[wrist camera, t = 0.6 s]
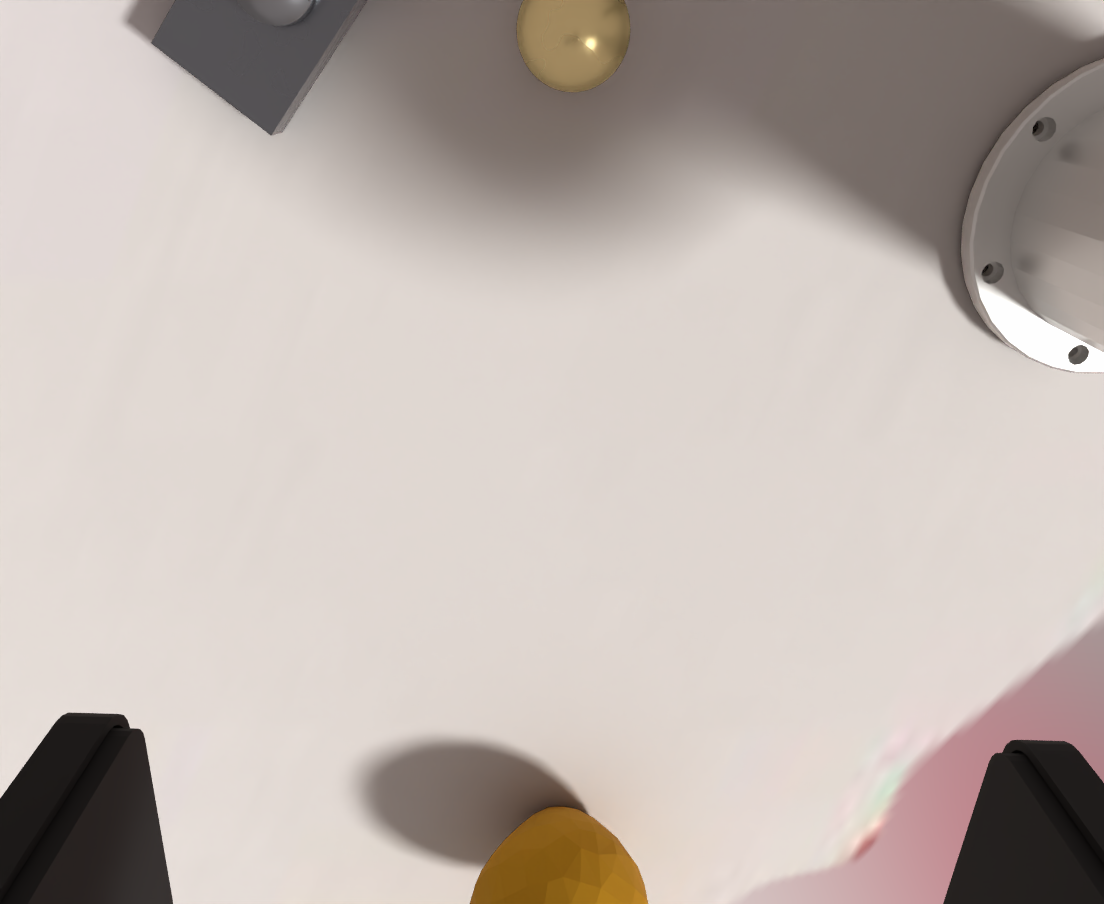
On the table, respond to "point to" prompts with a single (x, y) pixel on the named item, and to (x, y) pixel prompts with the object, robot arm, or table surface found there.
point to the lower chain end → (257, 49)
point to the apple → (560, 864)
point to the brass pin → (573, 41)
